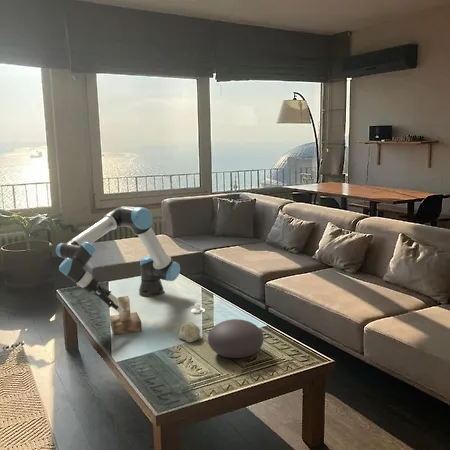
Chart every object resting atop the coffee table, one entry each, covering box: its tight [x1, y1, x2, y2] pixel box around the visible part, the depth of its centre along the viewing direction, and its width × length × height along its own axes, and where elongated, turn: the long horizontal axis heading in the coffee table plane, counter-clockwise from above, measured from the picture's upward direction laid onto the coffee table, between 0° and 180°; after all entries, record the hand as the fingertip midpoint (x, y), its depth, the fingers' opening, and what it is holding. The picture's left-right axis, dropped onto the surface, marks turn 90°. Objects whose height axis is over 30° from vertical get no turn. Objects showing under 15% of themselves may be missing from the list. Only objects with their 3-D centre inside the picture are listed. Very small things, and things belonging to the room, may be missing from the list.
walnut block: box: [109, 312, 143, 336], centre depth 253 cm, size 14×14×5 cm
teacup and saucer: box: [190, 303, 206, 314], centre depth 275 cm, size 9×8×4 cm
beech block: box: [117, 295, 131, 321], centre depth 252 cm, size 5×5×11 cm
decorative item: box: [177, 322, 201, 343], centre depth 240 cm, size 12×9×10 cm
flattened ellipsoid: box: [207, 318, 264, 359], centre depth 220 cm, size 25×25×15 cm
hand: (120, 307), depth 251 cm, fingers open, 13 cm apart
